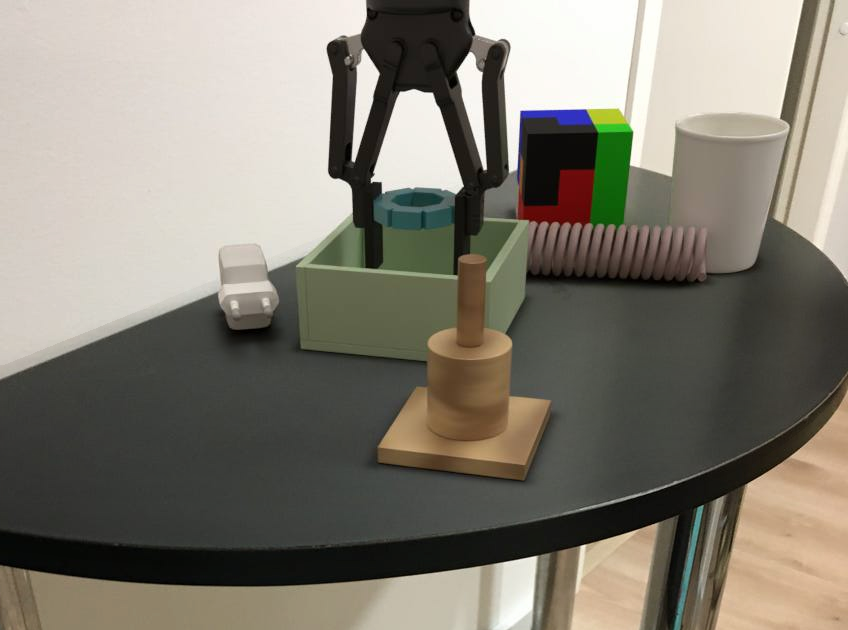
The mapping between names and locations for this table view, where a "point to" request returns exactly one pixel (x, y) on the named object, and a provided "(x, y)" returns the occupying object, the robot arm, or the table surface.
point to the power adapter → (246, 287)
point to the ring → (415, 208)
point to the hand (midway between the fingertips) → (417, 270)
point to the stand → (468, 398)
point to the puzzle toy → (573, 166)
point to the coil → (617, 251)
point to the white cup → (726, 182)
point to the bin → (403, 288)
